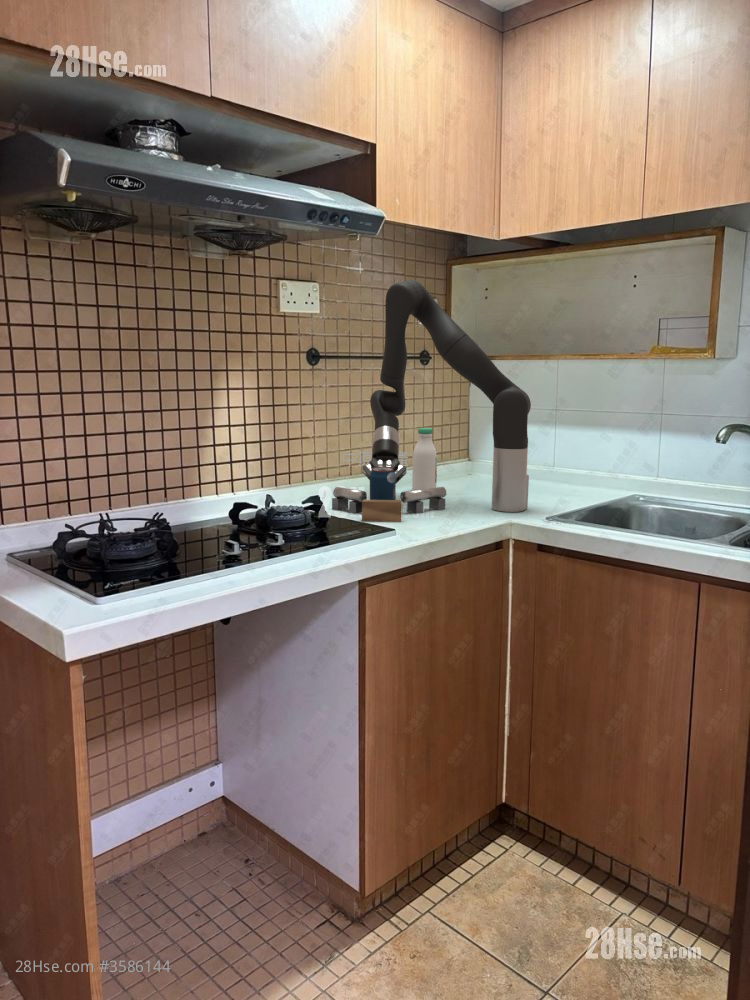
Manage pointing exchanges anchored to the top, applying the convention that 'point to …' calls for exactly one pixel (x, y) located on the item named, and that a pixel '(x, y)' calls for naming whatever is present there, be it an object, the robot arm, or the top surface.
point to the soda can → (382, 483)
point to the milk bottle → (424, 461)
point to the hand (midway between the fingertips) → (383, 495)
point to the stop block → (381, 510)
